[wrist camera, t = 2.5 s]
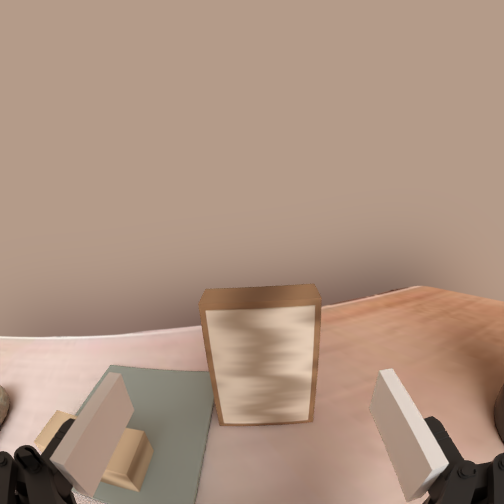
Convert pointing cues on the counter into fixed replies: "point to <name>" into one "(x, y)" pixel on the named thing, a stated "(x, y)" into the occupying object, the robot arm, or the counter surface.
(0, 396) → the elongated rock
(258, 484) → the counter surface
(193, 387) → the mat
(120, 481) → the tan wooden block
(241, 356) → the slab
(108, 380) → the robot arm
